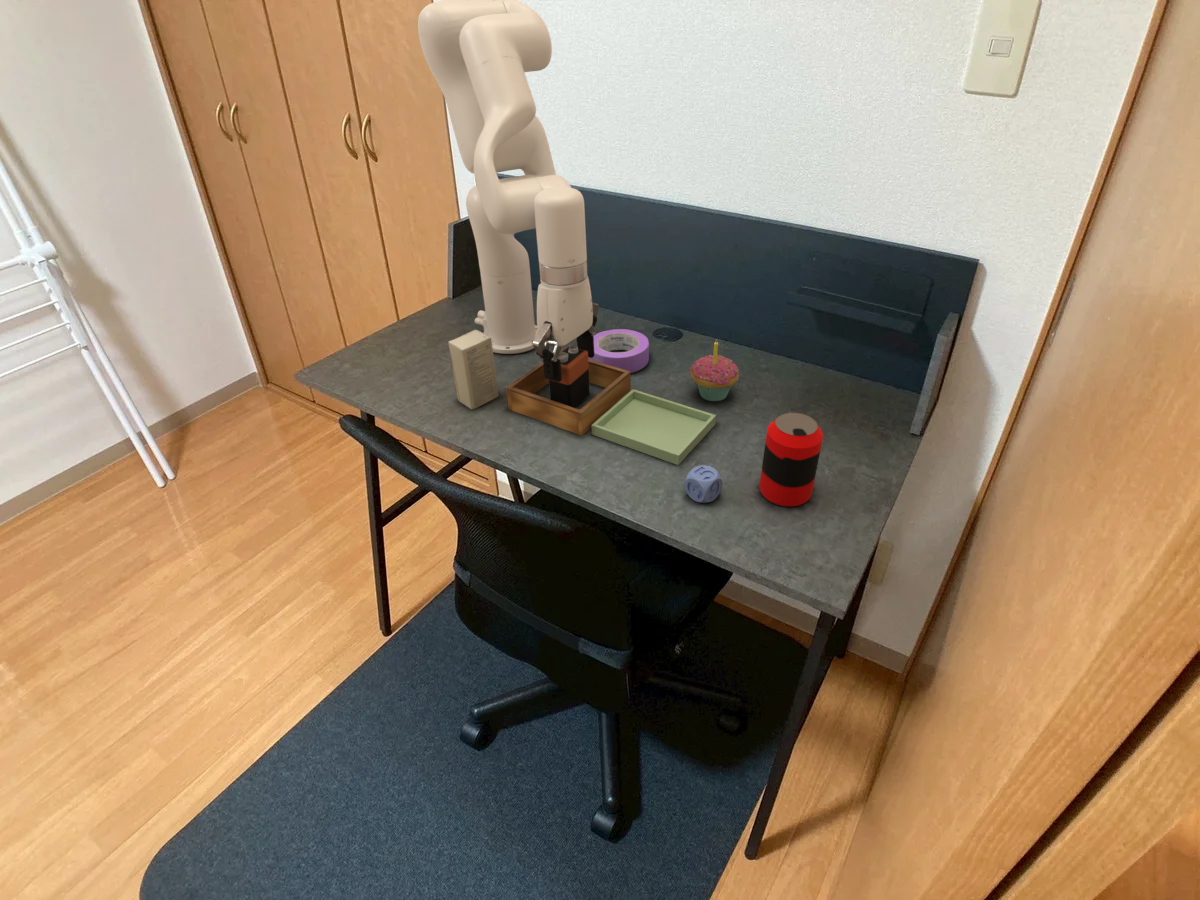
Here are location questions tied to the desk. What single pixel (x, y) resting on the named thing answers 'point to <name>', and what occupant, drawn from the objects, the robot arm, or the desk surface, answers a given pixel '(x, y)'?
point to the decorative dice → (703, 484)
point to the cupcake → (714, 375)
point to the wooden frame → (563, 415)
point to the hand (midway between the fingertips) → (570, 367)
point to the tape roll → (621, 340)
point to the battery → (571, 378)
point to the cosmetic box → (474, 369)
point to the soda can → (790, 459)
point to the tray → (654, 426)
